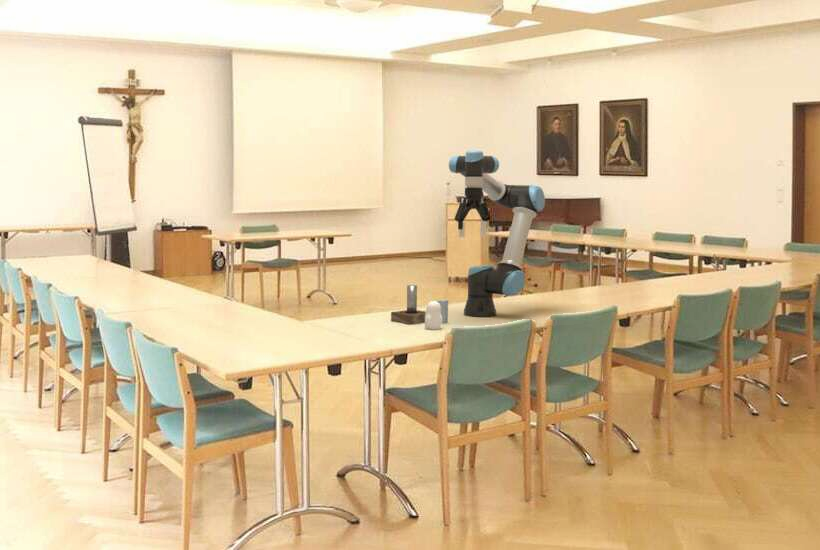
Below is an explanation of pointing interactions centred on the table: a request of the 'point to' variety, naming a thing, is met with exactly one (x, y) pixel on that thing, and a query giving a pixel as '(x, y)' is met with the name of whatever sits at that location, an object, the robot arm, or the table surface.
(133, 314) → the table surface
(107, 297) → the table surface
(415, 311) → the round bit
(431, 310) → the figurine
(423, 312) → the socket block
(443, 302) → the square bar
